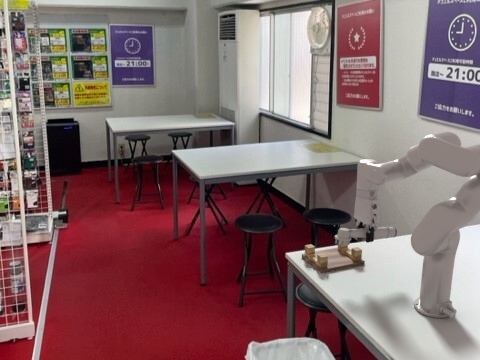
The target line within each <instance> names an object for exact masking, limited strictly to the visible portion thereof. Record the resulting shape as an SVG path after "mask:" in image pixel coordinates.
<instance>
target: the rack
mask: <svg viewBox="0 0 480 360" xmlns="http://www.w3.org/2000/svg"><path fill="white" fill-rule="evenodd" d="M362 255H363V249H361V248H360V247H359V246H357V247H351V248H350V247H349V245H347V246H343V245H337V247H333V248H329V249H328V248H327V249H324V250H318V251H316V246H315V245H313V244H306V245H304V253H302V254H301V258H302V259H303V260H304V261H305V262H307V263H308V264H309V265H310V266H311V267H313V268H314V269H316V270H317V271H318V272H320V273H321V274H326V273H330V272H335V271H339V270H344V269H349V268H350V269H351V268H353V267H354V268H355V267H359V266H360V267H361V266H363V265H365V262H366V261H365V260H364V259H363V256H362Z"/></svg>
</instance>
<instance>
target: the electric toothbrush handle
mask: <svg viewBox="0 0 480 360" xmlns="http://www.w3.org/2000/svg"><path fill="white" fill-rule="evenodd" d="M366 232H367V227H365V228H361V229H357V228H350V229H349V228H347V227H339V229H338V231H337V234H335V235H334V239H335V240H334V244H335V245H337V246H338V245H343V246H347V245H348V246H350V243H351V241H352V239H353V238H366ZM397 233H398V230H397V228H396V227H394V226H387V225H385V226H379V228H377V229H376V230H375V232H374V238H385V239H388V238H396V237H397Z"/></svg>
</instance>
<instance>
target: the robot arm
mask: <svg viewBox="0 0 480 360" xmlns="http://www.w3.org/2000/svg"><path fill="white" fill-rule="evenodd" d="M431 167H436V168H437V169H441V170H444V171H445V172H448V173H450V174H453V175H455V176H459V177H462V178H468V177H469V178H468V179H466V181H465V182H464V183H463V184H462V185H461V187H460V188H459V189H458V191H457V192H456V193H455V194H454V195H452V197H450V198H449V199H446V200H443V201H440V202H438V203H436V204H435V205H433V206H432V207H431V208H430V209H428V211H427V212H426V213H425V215H424V216H423V217H422V219H421V220H420V222H418V224H417V225H416V227H415V228H414V229H413V231H412V233H411V236H410V244H411V249H413V251H414V252H415V253H416V254H417V255H419V256H423V260H422V270H421V271H422V272H421V281H420V288H419V289H420V290H419V297H418V298H416V299H415V300H414V301H413V303H414V304H413V308H414V309H415V310H416V311H418V313H420V314H422V315H424V316H427V317H429V318H436V319H437V318H438V319H443V318H448V317H449V318H451V319H452V318H453V317H454V316H455V314H456V313H457V311H458V310H457V309H456V308H454V306H453V301H451V293H452V283H453V275H454V269H455V268H454V267H455V262H456V261H455V260H456V255H457V250H458V247H459V245H460V240H461V232H460V229H463V228H465V227H467V226H469V225H470V224H471V223H472V222H473V221H474V219H475V218H476V216H477V215H478V214H479V213H480V143H477V144H474V145H470V146H466V147H463V146H462V141H461V138H460V137H459V136H458V135H457V134H456V133H453V132H451V131H442V132H437V133H432V134H428V135H426V136H423V138H422V139H420V141H419V143H416V144H415V145H413V146H411V147H410V148H408V150H407V152H406V155H404V156H401V157H398V158H397V159H395V160H390V161H386V162H382V163H379V162H378V161H377V160H375V159H372V158H371V159H370V158H365V159H360V160H359V161H358V162H357V167H356V168H357V169H356V170H357V171H356V174H357V176H356V196H355V201H354V209H353V211H354V212H353V213H352V217H353V218H354V221H355V226H356V229H361V228H367V232H366V237H365V243H372V242H375V241H374V240H375V237H374V232H375V230H376V229H377V228H379V227H380V225H379V224H380V217H381V216H380V215H381V214H380V200H379V198H378V192H379V191H378V190H379V189H378V188H379V187H378V186H386V185H389V184H393V183H396V182H399V181H403V180H405V179H406V178H410V177H412V176H414V175H416V174H418V173H421V172H422V171H425V170H427V169H429V168H431ZM365 225H366V227H365Z"/></svg>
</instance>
